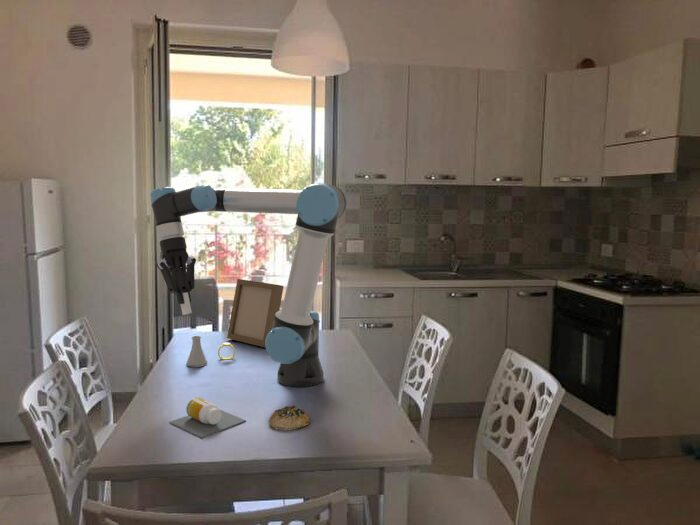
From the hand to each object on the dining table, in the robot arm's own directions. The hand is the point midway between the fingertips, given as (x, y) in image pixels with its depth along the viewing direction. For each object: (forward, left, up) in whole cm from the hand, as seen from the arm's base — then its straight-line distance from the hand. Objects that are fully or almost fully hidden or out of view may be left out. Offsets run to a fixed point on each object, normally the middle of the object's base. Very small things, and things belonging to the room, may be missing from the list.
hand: (187, 314), depth 172 cm
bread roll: (-39, +15, -24) cm, 48 cm away
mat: (-18, +21, -24) cm, 37 cm away
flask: (+10, -23, -24) cm, 34 cm away
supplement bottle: (-13, +20, -20) cm, 31 cm away
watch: (+3, -32, -24) cm, 40 cm away
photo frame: (+1, -58, -24) cm, 63 cm away
